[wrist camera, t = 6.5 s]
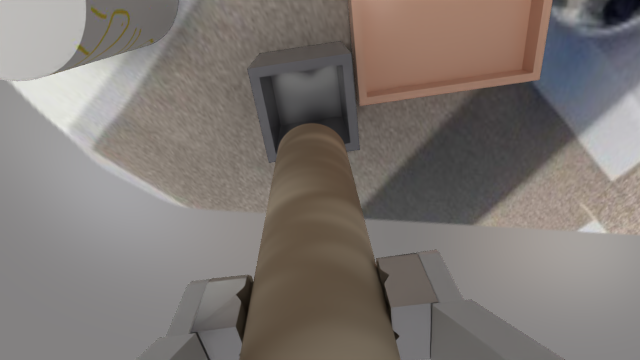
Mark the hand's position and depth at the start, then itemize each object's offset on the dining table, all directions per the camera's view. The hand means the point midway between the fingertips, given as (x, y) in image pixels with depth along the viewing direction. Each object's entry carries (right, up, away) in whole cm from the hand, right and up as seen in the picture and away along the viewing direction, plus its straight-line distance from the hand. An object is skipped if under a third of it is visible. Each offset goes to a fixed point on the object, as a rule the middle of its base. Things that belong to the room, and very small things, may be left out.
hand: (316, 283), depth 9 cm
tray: (+9, +15, +17) cm, 25 cm away
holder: (-1, +10, +19) cm, 22 cm away
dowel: (0, +4, +7) cm, 8 cm away
